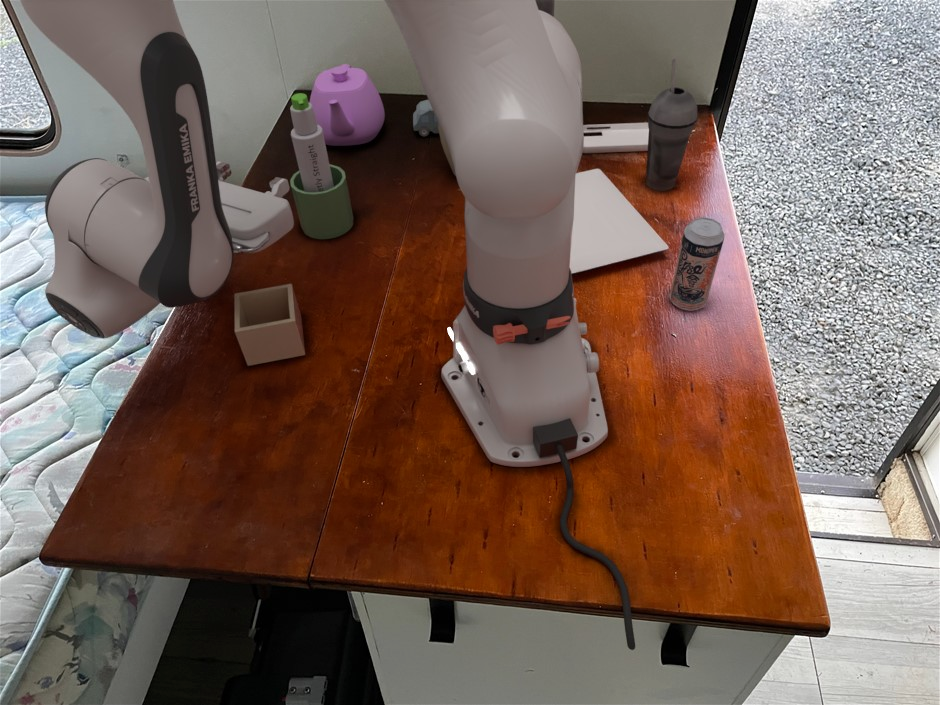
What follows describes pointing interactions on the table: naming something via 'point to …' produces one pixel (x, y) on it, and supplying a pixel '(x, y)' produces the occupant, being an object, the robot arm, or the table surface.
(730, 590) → the table surface
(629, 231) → the plate
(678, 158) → the beverage cup
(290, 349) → the ivory holder
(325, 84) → the teapot
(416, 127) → the toy car
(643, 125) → the phone case
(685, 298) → the beer can
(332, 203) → the green cup
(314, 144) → the bottle
